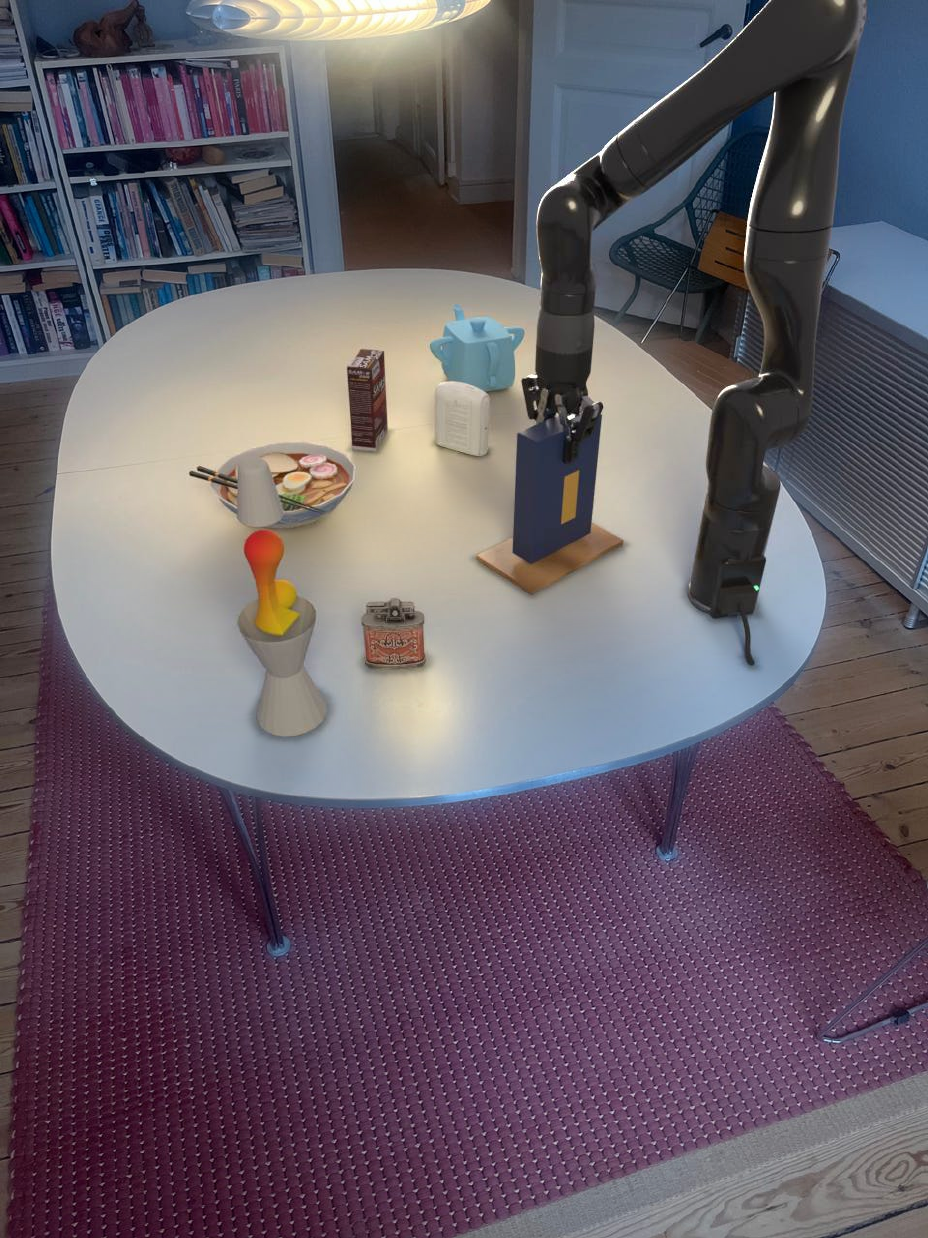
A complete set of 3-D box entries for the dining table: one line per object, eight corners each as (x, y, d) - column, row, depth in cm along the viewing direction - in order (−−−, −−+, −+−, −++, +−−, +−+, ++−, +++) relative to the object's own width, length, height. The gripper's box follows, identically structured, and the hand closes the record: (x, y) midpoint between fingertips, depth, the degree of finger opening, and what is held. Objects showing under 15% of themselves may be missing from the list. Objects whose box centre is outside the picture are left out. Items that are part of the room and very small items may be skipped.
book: (537, 442, 129) (603, 414, 136) (516, 431, 131) (582, 404, 138) (531, 564, 141) (591, 533, 148) (511, 552, 143) (572, 522, 150)
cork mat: (567, 513, 155) (568, 509, 155) (623, 544, 148) (623, 540, 148) (476, 559, 145) (476, 555, 145) (531, 594, 138) (531, 590, 137)
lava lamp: (306, 745, 114) (268, 492, 92) (241, 726, 117) (189, 475, 95) (340, 698, 121) (312, 450, 99) (278, 680, 123) (238, 436, 102)
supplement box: (377, 452, 172) (371, 369, 162) (351, 450, 173) (344, 367, 163) (389, 431, 178) (385, 349, 169) (364, 428, 179) (359, 347, 169)
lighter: (425, 653, 128) (423, 593, 121) (425, 669, 125) (423, 609, 119) (365, 654, 127) (360, 594, 121) (364, 671, 125) (359, 610, 119)
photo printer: (492, 449, 173) (493, 385, 165) (481, 459, 170) (481, 394, 162) (443, 436, 177) (442, 373, 169) (431, 445, 174) (430, 382, 166)
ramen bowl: (392, 502, 158) (389, 459, 153) (306, 571, 143) (300, 525, 137) (274, 465, 168) (268, 423, 163) (183, 526, 153) (173, 481, 148)
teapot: (531, 377, 197) (534, 313, 189) (495, 408, 186) (496, 341, 178) (455, 360, 204) (455, 298, 196) (415, 388, 193) (413, 323, 185)
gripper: (624, 348, 123) (612, 465, 134) (546, 318, 132) (541, 430, 143) (584, 364, 120) (575, 483, 130) (507, 331, 128) (504, 446, 139)
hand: (557, 455), depth 136 cm, fingers closed on book, 4 cm apart
